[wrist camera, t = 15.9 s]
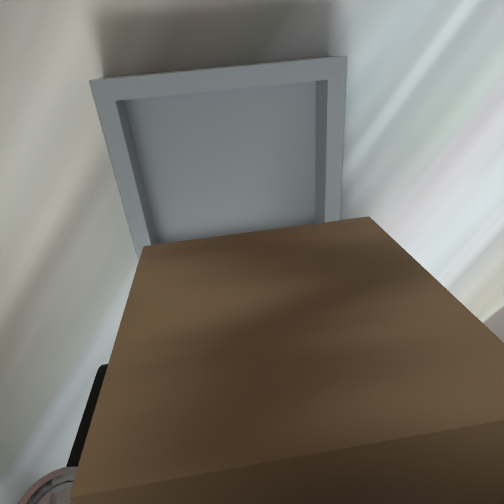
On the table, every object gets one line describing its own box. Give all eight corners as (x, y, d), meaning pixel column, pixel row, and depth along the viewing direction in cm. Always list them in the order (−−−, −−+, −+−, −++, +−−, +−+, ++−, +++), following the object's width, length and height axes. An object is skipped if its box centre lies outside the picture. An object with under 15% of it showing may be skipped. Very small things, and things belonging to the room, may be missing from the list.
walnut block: (369, 216, 10) (574, 408, 4) (355, 373, 12) (468, 601, 7) (143, 246, 9) (68, 499, 4) (184, 401, 12) (171, 666, 7)
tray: (324, 249, 27) (337, 269, 25) (153, 272, 26) (148, 296, 24) (328, 56, 21) (347, 56, 18) (103, 77, 20) (88, 80, 17)
